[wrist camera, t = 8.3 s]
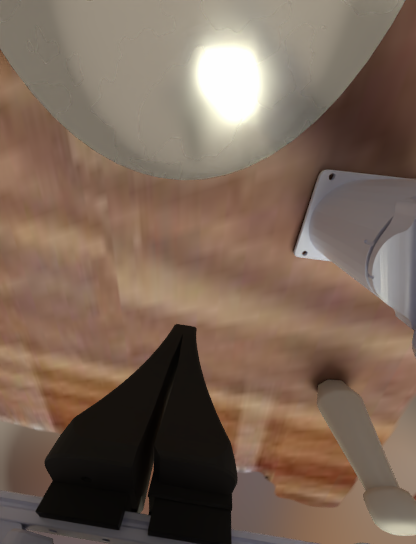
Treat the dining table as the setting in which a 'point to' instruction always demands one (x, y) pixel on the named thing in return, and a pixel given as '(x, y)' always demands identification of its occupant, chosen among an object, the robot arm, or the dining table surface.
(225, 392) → the dining table surface
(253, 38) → the cooker lid
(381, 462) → the beige pestle
